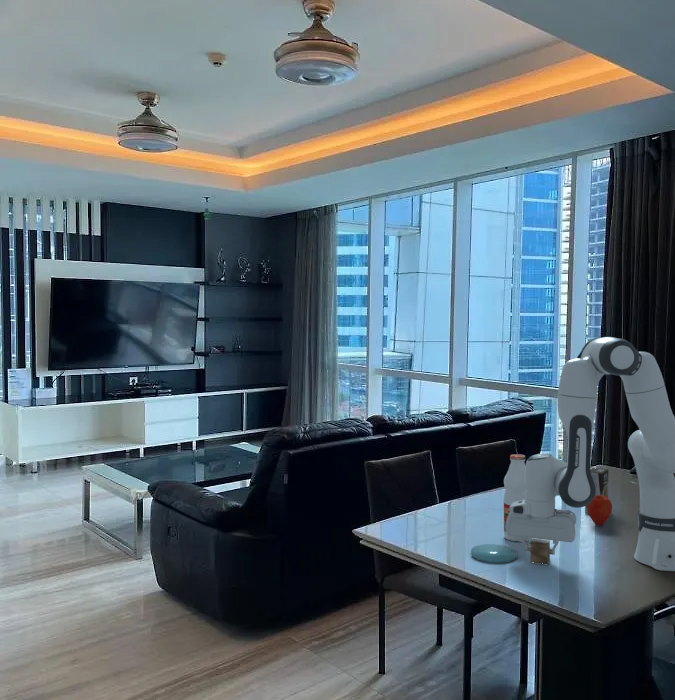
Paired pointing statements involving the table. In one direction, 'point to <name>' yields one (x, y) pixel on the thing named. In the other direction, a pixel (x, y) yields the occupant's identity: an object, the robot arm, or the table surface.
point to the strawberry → (599, 509)
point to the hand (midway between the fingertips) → (540, 552)
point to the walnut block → (539, 551)
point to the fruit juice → (514, 488)
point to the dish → (494, 553)
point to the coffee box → (600, 482)
